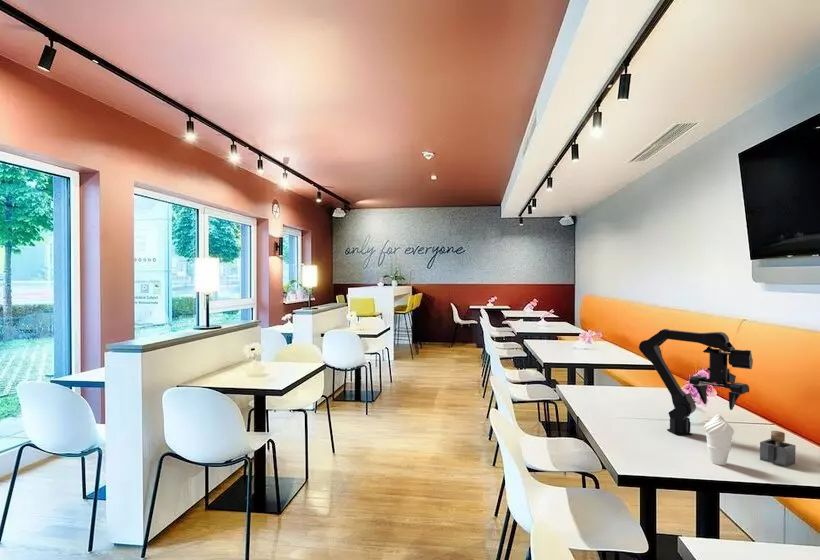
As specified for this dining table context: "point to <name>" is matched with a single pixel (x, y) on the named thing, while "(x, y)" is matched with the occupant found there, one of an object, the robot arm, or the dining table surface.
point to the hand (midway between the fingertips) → (717, 406)
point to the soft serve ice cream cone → (718, 439)
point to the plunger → (778, 437)
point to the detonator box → (777, 453)
